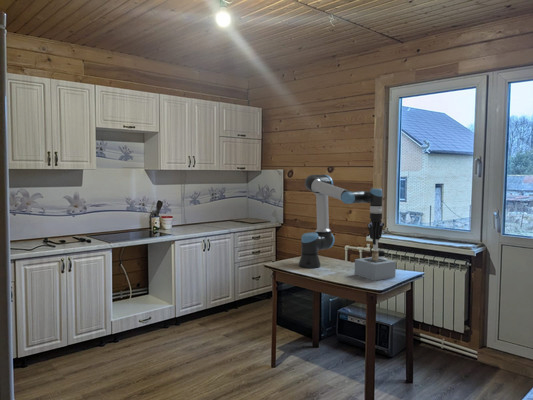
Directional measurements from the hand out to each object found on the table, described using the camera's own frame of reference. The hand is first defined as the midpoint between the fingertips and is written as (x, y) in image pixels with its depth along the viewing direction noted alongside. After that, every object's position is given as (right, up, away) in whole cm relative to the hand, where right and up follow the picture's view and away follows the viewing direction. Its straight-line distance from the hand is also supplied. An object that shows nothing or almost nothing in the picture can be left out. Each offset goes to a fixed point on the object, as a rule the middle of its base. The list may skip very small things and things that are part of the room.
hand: (375, 249), depth 270 cm
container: (+8, -16, +19) cm, 27 cm away
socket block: (0, -17, +1) cm, 17 cm away
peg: (0, -10, +1) cm, 10 cm away
